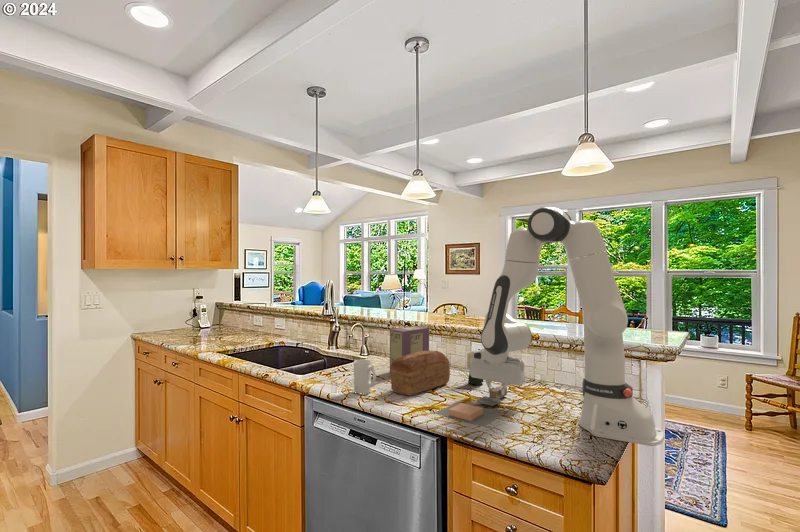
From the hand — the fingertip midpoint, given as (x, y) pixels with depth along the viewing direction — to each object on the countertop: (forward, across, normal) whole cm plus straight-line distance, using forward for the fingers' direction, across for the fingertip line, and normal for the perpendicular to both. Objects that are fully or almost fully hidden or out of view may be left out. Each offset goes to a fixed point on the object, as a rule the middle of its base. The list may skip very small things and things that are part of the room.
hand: (496, 393), depth 149 cm
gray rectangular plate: (+3, +1, +18) cm, 18 cm away
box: (+3, +51, -15) cm, 53 cm away
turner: (+2, 0, +1) cm, 2 cm away
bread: (+3, +32, +3) cm, 32 cm away
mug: (+3, +44, +22) cm, 49 cm away
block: (+1, +1, +16) cm, 16 cm away
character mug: (+3, +17, -16) cm, 24 cm away
